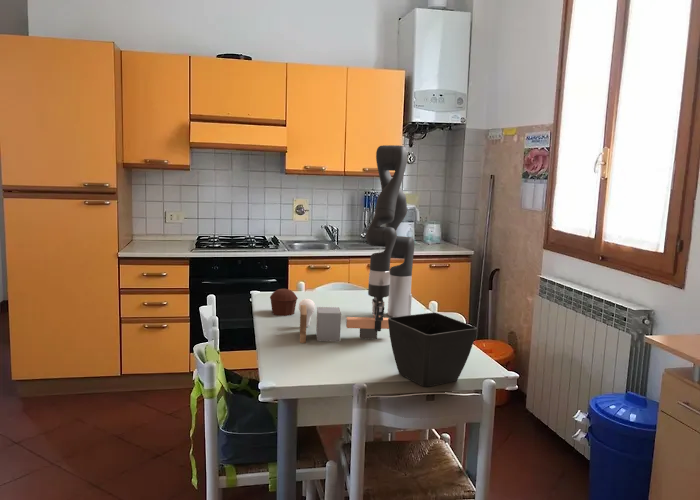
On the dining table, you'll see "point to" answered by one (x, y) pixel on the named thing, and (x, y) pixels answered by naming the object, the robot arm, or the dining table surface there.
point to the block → (328, 324)
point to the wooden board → (303, 323)
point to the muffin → (283, 302)
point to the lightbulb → (308, 309)
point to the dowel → (365, 323)
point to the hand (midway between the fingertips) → (376, 329)
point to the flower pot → (430, 347)
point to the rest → (368, 333)
